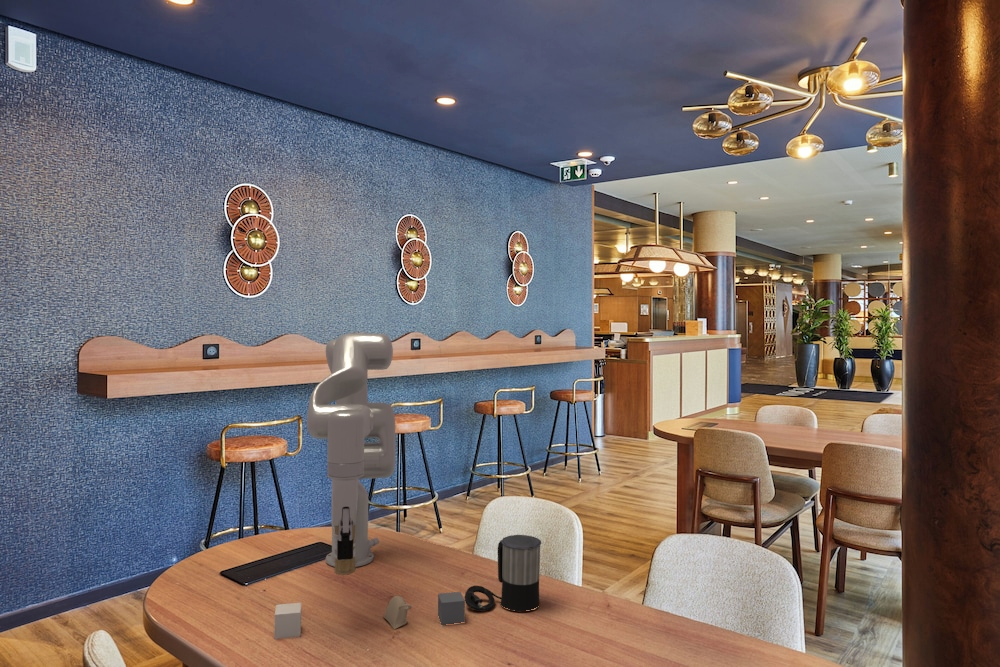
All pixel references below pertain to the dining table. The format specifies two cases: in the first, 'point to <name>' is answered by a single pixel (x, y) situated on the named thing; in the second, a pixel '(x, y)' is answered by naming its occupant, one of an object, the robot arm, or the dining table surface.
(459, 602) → the charcoal block
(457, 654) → the dining table surface
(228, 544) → the dining table surface
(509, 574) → the milk frother
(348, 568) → the sprinkles bottle
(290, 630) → the off-white block
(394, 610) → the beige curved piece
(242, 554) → the dining table surface
